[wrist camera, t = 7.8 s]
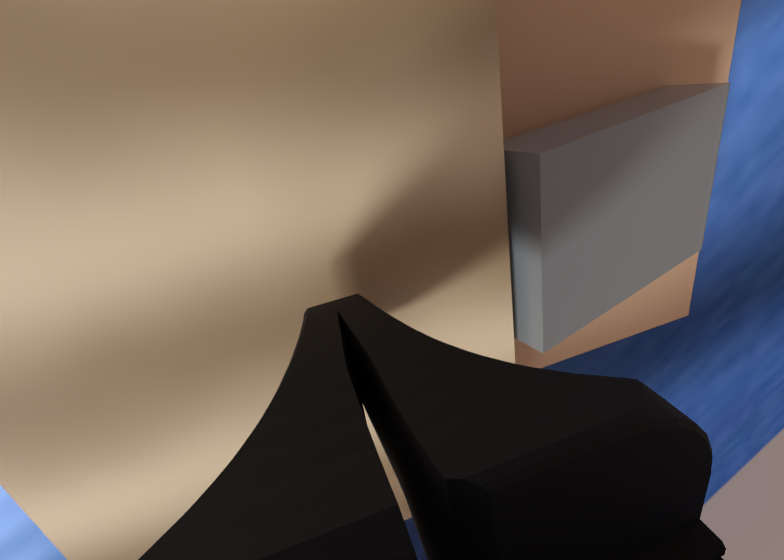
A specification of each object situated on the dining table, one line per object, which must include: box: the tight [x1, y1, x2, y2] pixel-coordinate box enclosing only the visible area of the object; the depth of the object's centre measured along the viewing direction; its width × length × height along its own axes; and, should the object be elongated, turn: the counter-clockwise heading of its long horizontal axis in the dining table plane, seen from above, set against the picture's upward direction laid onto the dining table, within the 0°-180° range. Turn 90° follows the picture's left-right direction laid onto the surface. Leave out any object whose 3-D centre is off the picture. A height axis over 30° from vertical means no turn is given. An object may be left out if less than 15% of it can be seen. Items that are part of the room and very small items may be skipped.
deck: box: [0, 0, 515, 560], centre depth 13 cm, size 18×14×4 cm
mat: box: [496, 0, 741, 368], centre depth 17 cm, size 16×11×1 cm
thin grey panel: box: [503, 82, 730, 353], centre depth 14 cm, size 6×9×2 cm, turn 100°
